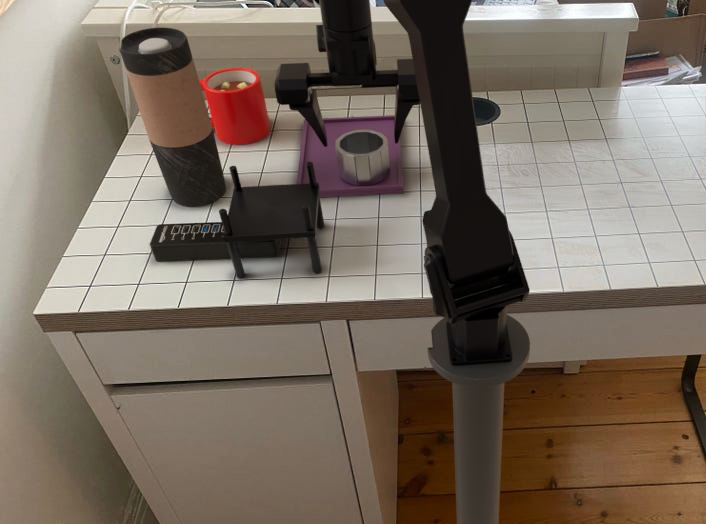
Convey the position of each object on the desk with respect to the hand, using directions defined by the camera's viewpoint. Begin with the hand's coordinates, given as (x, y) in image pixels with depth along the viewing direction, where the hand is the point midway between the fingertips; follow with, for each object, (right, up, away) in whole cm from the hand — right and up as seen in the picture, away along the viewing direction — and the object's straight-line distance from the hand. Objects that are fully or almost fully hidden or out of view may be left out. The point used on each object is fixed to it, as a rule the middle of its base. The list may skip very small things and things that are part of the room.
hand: (361, 143), depth 99 cm
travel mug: (-22, -6, +1) cm, 23 cm away
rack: (-8, -15, -8) cm, 19 cm away
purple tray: (-2, 0, +7) cm, 7 cm away
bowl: (0, -3, +3) cm, 4 cm away
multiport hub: (-16, -15, -8) cm, 23 cm away
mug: (-21, +5, +12) cm, 25 cm away
